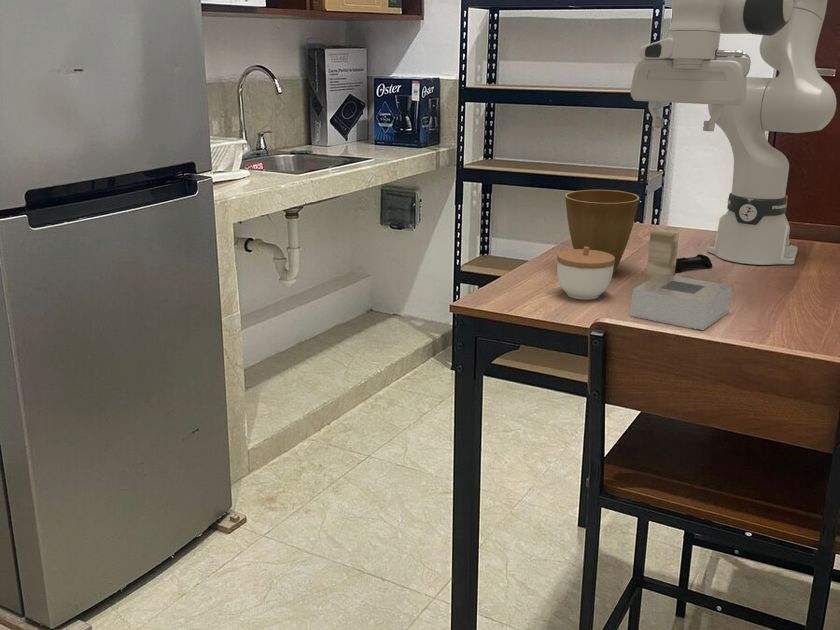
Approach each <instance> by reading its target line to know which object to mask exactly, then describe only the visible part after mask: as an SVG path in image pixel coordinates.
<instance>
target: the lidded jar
mask: <svg viewBox="0 0 840 630" xmlns="http://www.w3.org/2000/svg"><path fill="white" fill-rule="evenodd" d="M556 262H557V263H556V273H557V274H556V275H557V281H558V283H559V286H560V288H562V290H563V291H564V292H565V293H566V296H567V297H570V298H572V299H575V300H586V301H588V300H597V299H598V298H600V295H602V294H603V293H604V292H605V291H606V290H607V289H608V287H609V286H610V284H611V281H612V278H613V274H614V273H613V268H614V263H615V257H614V256H613V255H611V254H609V253H606V252H603V251H597V250H589V247H584V249H573V248H572V249H566V250H562V251H560V252H558V253H557V255H556Z"/></svg>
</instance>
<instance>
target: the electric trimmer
mask: <svg viewBox="0 0 840 630" xmlns="http://www.w3.org/2000/svg"><path fill="white" fill-rule="evenodd" d="M704 268H705V269H708V268H710V269H712V268H713V263H712V260H711V259H710V257H708V256H707V255H705V254H701V253H699V254H697V255H696V256H693V257H690V256H689V257H680V258H679V257H678V258H676V267H675V273H681V272H682V271H685V270H686V271H687V270H696V269H704Z"/></svg>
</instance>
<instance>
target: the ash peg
mask: <svg viewBox="0 0 840 630" xmlns="http://www.w3.org/2000/svg"><path fill="white" fill-rule="evenodd" d="M679 237H680V231H673V230H666V229H656V230H654V231H652V232H650V235H649V245H648V255H647V256H648V257H647V267H646V277H645V282H647V281H649V280H650V279H652V278H654V277H656V276H658V275H660V274H667V275H673V276H676V275H675V274H676V272H675V267H676V258H677V257H678V247H679V239H680V238H679Z"/></svg>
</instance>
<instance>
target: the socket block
mask: <svg viewBox="0 0 840 630" xmlns="http://www.w3.org/2000/svg"><path fill="white" fill-rule="evenodd" d="M732 287H733V285H731V284H723V283H719V282H718V283H717V282H712V281H706V280H702V279H701V280H700V279H697V278H689V277H685V276H678V275H675V276H673V275H667V274H660V275H658V276H656V277H654V278H652V279H650V280H649V281H647V282H646V281H644V282H643V283H641V284H639V285H637V286H635V287H633V288H632V295H631V304H630V305H631V307H630V317H634V318H639V319H643V320H647V319H648V320H649V321H652V320H653V321H654V322H658V323H663V324H667V325H673V326H676V327H677V326H679V327H681V328H686V329H687V328H688V329H691V328H695V329H694V330H696V329H701V330H704V329H705V328H707V327H708V326H709V327H711V326H712V325H714V324H715V323H717V322H718V321H719V320H720V319H722V318H723V317H724V316H726V315H727V314H728V313H729V311H730V305H731V295H732V289H733V288H732ZM713 323H714V324H713ZM711 324H712V325H711ZM710 325H711V326H710ZM709 327H708V328H709ZM708 328H707V329H708ZM701 330H700V331H701ZM705 330H706V329H705ZM705 330H704V331H705Z"/></svg>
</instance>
